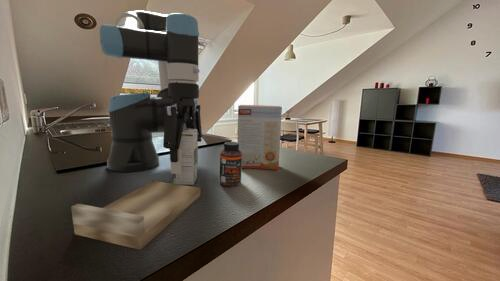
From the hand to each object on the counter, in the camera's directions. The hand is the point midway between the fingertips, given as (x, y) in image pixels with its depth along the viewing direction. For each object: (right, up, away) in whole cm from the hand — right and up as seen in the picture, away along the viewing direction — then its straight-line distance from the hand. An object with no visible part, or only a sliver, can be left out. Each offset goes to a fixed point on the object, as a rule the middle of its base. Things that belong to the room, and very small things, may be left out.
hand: (185, 168), depth 61 cm
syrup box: (0, -4, +1) cm, 4 cm away
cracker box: (+20, -2, +16) cm, 26 cm away
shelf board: (-3, -7, -16) cm, 17 cm away
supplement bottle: (+12, -4, +1) cm, 13 cm away
